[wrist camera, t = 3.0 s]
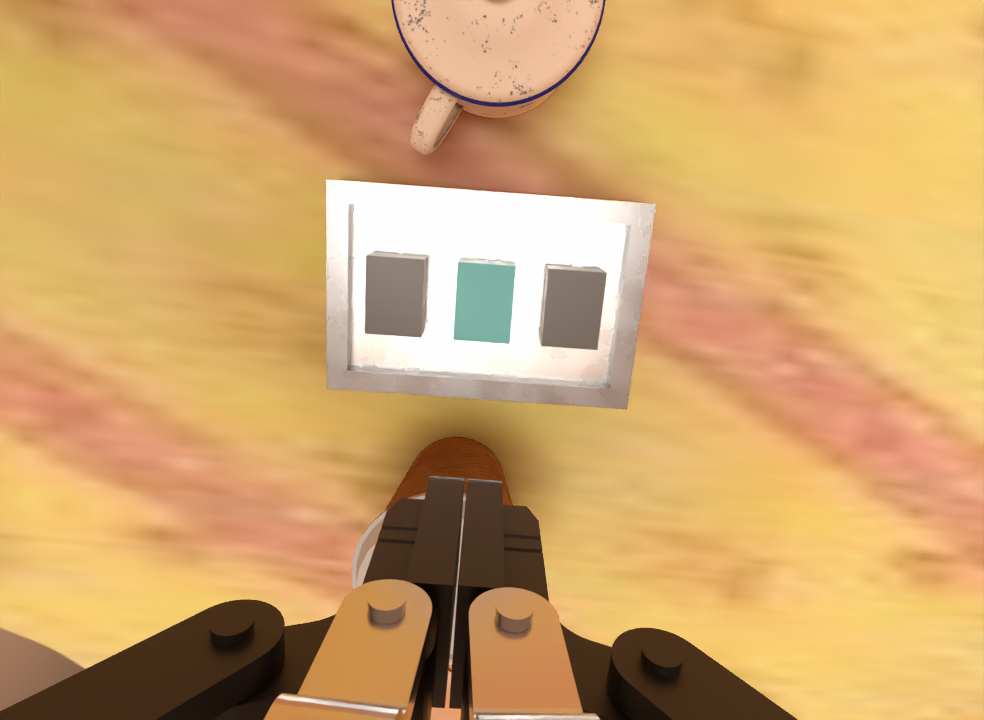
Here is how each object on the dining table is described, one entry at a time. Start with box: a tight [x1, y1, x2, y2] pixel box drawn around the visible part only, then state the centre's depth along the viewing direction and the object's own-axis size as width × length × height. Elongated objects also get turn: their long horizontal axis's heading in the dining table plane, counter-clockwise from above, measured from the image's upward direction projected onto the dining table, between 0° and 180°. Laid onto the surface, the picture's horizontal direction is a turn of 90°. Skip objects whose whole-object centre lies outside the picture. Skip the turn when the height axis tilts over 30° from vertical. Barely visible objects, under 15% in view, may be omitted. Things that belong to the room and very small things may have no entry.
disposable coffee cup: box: [352, 437, 513, 665], centre depth 36 cm, size 10×10×12 cm
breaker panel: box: [326, 179, 656, 409], centre depth 37 cm, size 12×18×3 cm, turn 86°
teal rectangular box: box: [453, 258, 516, 344], centre depth 35 cm, size 4×3×2 cm
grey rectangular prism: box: [365, 252, 428, 338], centre depth 35 cm, size 4×3×2 cm
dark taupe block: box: [539, 265, 607, 350], centre depth 35 cm, size 4×3×2 cm
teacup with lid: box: [392, 0, 605, 155], centre depth 29 cm, size 12×9×12 cm
